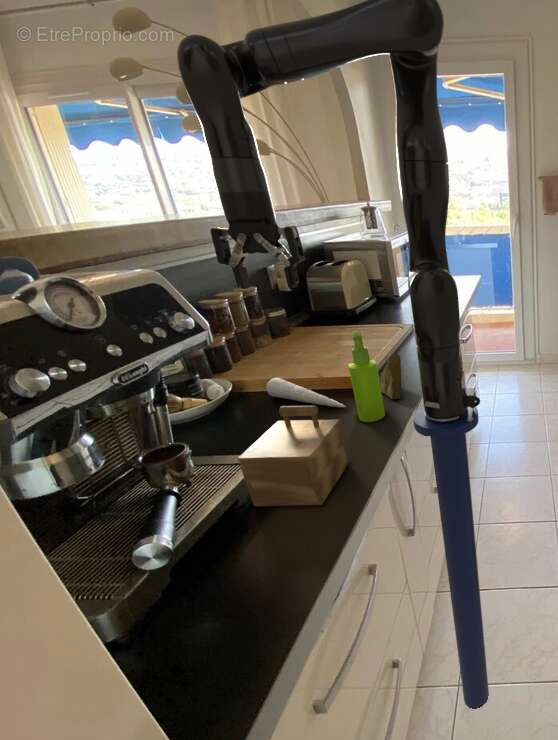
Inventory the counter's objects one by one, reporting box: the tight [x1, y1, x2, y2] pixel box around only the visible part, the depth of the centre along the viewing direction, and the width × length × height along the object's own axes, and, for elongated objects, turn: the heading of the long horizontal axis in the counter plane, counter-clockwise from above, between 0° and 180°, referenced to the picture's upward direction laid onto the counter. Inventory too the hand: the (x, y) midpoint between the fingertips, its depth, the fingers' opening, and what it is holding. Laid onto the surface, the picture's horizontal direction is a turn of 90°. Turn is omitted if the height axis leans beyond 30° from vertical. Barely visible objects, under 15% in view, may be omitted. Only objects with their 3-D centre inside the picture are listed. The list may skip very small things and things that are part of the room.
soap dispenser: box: [348, 330, 386, 423], centre depth 101 cm, size 6×7×20 cm
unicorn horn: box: [265, 377, 347, 408], centre depth 111 cm, size 5×24×5 cm, turn 64°
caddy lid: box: [237, 405, 341, 463], centre depth 76 cm, size 13×11×5 cm
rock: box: [380, 352, 402, 400], centre depth 115 cm, size 11×9×10 cm
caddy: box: [238, 424, 349, 507], centre depth 79 cm, size 12×11×9 cm
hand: (269, 287), depth 81 cm, fingers open, 8 cm apart
